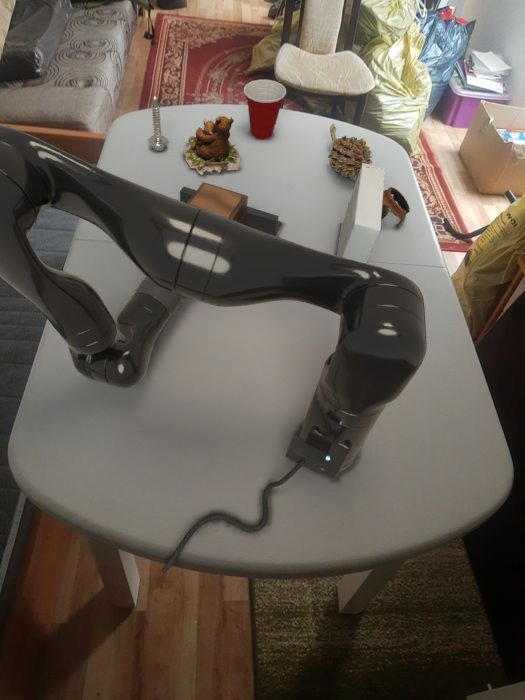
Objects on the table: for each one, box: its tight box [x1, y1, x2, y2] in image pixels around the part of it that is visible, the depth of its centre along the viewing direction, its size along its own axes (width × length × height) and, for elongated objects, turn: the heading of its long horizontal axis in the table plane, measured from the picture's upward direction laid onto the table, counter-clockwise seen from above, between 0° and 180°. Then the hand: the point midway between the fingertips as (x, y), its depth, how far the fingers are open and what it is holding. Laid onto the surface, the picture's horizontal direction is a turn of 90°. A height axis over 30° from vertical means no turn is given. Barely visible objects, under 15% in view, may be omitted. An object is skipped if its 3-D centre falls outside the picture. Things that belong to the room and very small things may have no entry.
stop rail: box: [179, 186, 283, 236], centre depth 105 cm, size 6×22×5 cm, turn 70°
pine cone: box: [327, 122, 373, 181], centre depth 121 cm, size 22×10×10 cm, turn 19°
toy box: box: [187, 181, 249, 225], centre depth 99 cm, size 10×10×9 cm
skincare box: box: [335, 163, 386, 264], centre depth 97 cm, size 21×5×16 cm, turn 168°
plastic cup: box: [243, 79, 287, 140], centre depth 126 cm, size 11×11×12 cm
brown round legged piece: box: [381, 186, 411, 228], centre depth 110 cm, size 12×10×8 cm
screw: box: [147, 95, 169, 152], centre depth 116 cm, size 13×5×5 cm
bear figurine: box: [183, 114, 242, 176], centre depth 116 cm, size 14×15×12 cm
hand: (204, 233), depth 93 cm, fingers closed
